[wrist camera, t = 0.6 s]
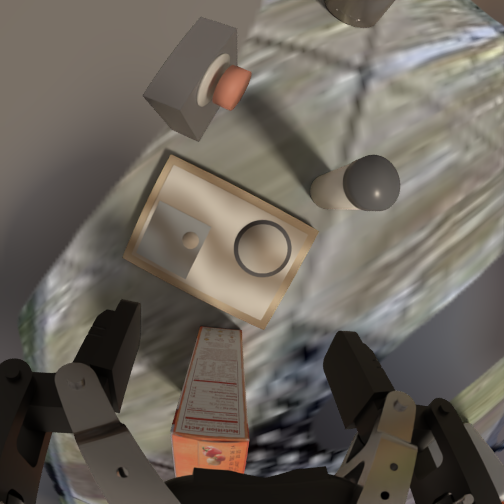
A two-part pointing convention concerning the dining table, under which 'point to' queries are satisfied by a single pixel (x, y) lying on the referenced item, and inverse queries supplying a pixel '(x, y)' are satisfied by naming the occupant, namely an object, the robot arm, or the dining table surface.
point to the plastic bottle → (498, 472)
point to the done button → (231, 87)
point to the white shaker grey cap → (358, 186)
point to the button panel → (193, 77)
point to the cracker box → (212, 406)
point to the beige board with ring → (218, 242)
